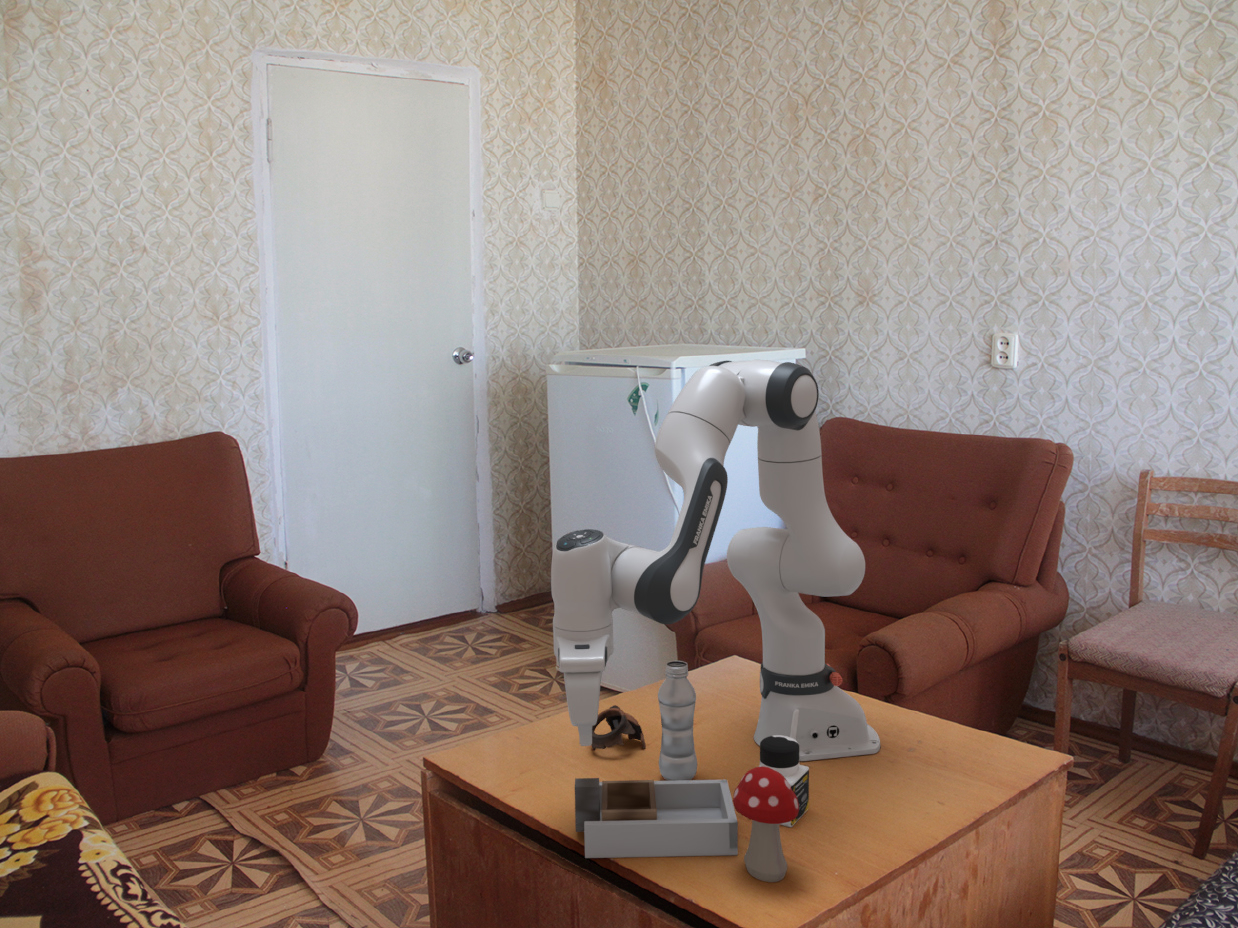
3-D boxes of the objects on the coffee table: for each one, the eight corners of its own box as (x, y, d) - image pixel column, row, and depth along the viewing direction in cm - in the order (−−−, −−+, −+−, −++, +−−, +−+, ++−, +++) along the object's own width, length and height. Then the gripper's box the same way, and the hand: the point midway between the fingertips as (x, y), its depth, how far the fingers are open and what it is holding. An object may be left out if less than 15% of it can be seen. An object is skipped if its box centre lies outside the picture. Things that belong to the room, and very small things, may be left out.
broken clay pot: (653, 757, 184) (634, 725, 181) (606, 781, 185) (586, 749, 181) (642, 716, 195) (623, 685, 192) (597, 739, 196) (577, 708, 192)
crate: (654, 809, 161) (653, 766, 160) (657, 842, 151) (656, 796, 150) (577, 810, 161) (576, 767, 160) (574, 843, 151) (573, 798, 150)
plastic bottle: (671, 790, 170) (670, 673, 167) (651, 774, 176) (649, 661, 173) (705, 781, 173) (704, 666, 170) (684, 766, 179) (683, 655, 176)
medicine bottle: (791, 828, 157) (792, 752, 155) (748, 817, 161) (748, 743, 159) (809, 809, 163) (810, 736, 161) (767, 798, 167) (767, 727, 165)
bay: (727, 809, 163) (726, 779, 162) (737, 854, 149) (737, 822, 149) (587, 812, 163) (586, 782, 162) (585, 857, 149) (584, 825, 148)
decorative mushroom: (812, 878, 143) (813, 775, 141) (763, 896, 138) (763, 790, 136) (767, 847, 151) (767, 749, 149) (719, 863, 147) (719, 763, 145)
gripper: (565, 620, 162) (568, 704, 164) (558, 665, 142) (562, 760, 144) (605, 619, 162) (608, 703, 164) (604, 664, 142) (607, 759, 144)
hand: (586, 730), depth 154 cm, fingers open, 8 cm apart
